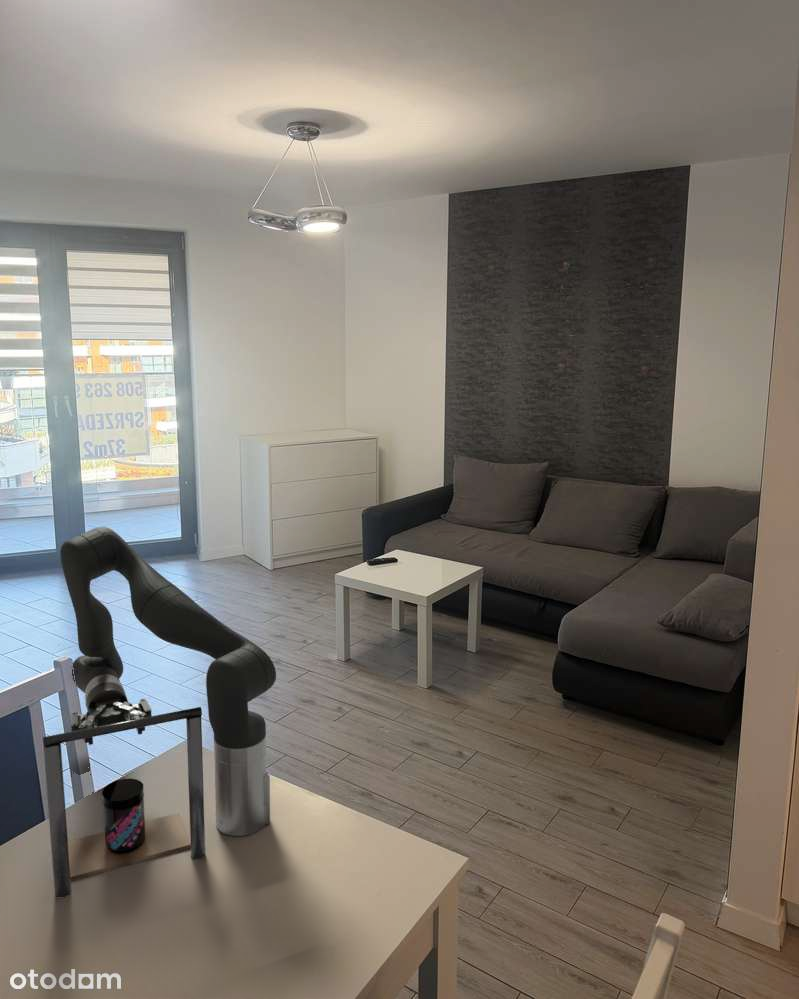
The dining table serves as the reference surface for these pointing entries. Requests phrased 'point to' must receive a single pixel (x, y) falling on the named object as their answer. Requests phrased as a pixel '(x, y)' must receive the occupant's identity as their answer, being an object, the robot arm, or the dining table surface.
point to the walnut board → (160, 840)
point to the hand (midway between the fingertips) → (115, 734)
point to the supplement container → (124, 815)
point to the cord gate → (54, 741)
